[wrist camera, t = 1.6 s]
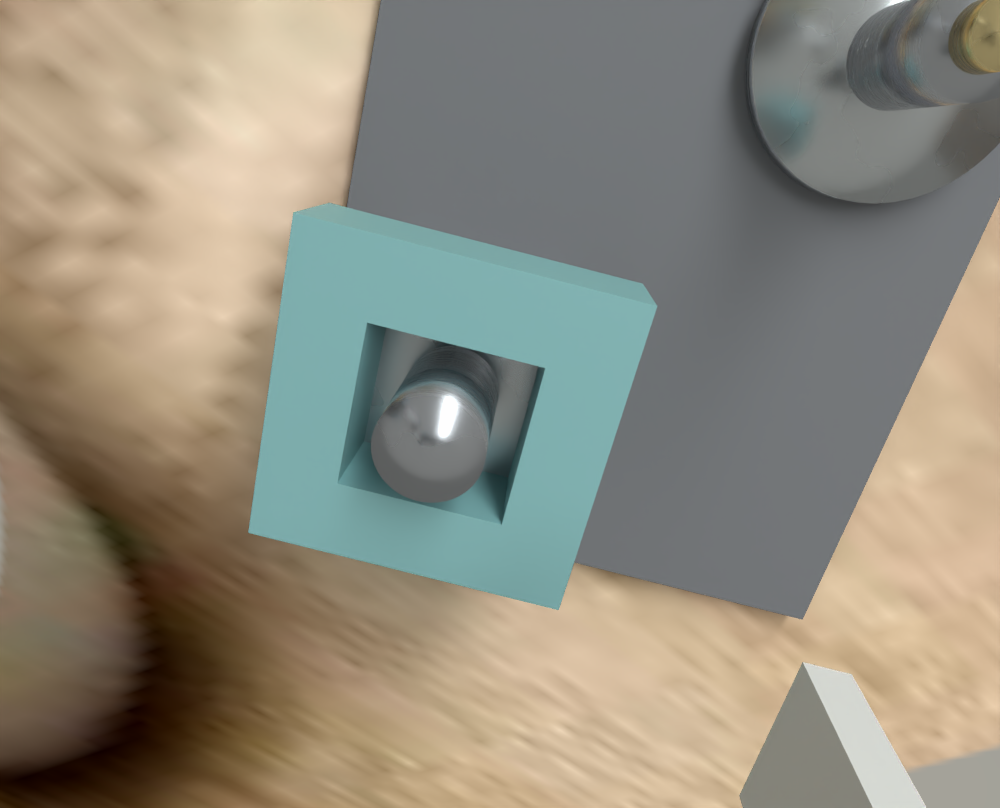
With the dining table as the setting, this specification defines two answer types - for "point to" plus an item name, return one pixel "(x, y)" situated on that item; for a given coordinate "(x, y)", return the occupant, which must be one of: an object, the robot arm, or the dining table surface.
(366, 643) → the dining table surface
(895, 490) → the dining table surface
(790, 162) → the bell
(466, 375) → the stand
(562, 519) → the teal square collar
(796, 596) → the mat
